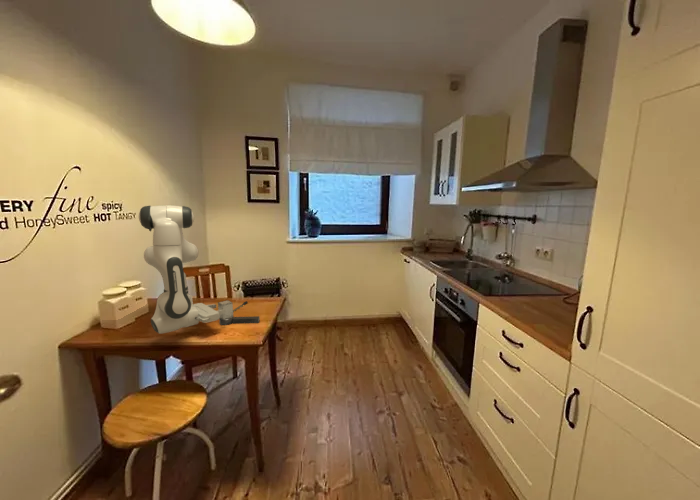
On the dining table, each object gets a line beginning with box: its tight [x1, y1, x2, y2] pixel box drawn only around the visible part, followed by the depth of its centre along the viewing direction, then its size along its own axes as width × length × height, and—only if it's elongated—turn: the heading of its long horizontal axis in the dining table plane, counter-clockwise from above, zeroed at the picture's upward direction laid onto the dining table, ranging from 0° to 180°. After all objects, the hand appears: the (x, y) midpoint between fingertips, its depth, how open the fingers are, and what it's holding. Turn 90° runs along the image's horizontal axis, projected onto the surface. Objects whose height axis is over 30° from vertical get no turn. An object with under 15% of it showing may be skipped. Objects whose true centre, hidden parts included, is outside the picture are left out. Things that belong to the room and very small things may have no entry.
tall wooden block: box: [217, 299, 234, 320], centre depth 159 cm, size 5×5×8 cm
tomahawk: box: [233, 300, 248, 313], centre depth 179 cm, size 21×7×1 cm, turn 166°
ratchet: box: [218, 315, 260, 326], centre depth 160 cm, size 20×7×6 cm, turn 93°
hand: (219, 308), depth 156 cm, fingers open, 8 cm apart
